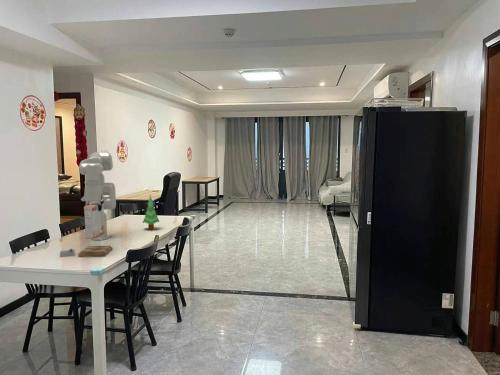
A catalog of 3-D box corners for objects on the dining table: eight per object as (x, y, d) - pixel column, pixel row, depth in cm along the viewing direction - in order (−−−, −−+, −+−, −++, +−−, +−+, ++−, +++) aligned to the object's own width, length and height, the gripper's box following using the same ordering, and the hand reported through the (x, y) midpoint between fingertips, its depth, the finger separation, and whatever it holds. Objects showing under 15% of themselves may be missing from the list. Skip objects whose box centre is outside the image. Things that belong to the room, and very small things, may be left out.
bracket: (60, 255, 227) (60, 249, 227) (74, 254, 230) (74, 247, 230) (60, 257, 223) (59, 251, 222) (74, 256, 226) (74, 249, 225)
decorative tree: (158, 227, 312) (157, 193, 310) (160, 230, 298) (159, 195, 295) (142, 228, 308) (141, 193, 305) (143, 231, 293) (142, 195, 291)
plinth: (88, 250, 238) (87, 245, 238) (112, 249, 239) (112, 245, 239) (78, 257, 222) (78, 252, 222) (104, 256, 224) (104, 251, 223)
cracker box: (96, 233, 237) (95, 202, 235) (105, 233, 236) (104, 202, 234) (84, 238, 223) (83, 205, 221) (94, 238, 223) (92, 205, 221)
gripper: (76, 183, 222) (77, 212, 224) (105, 183, 223) (106, 211, 225) (81, 182, 230) (82, 210, 231) (108, 182, 231) (110, 209, 233)
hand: (94, 210), depth 228 cm, fingers closed on cracker box, 6 cm apart
